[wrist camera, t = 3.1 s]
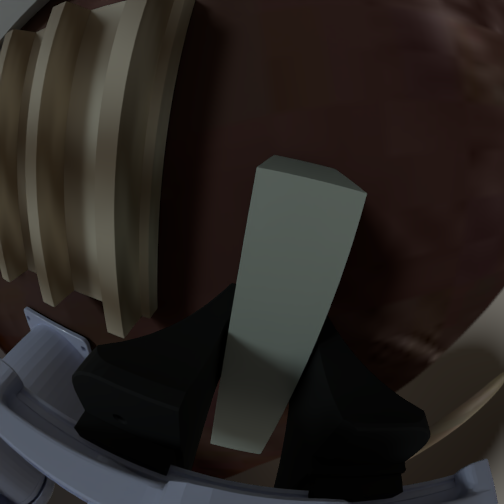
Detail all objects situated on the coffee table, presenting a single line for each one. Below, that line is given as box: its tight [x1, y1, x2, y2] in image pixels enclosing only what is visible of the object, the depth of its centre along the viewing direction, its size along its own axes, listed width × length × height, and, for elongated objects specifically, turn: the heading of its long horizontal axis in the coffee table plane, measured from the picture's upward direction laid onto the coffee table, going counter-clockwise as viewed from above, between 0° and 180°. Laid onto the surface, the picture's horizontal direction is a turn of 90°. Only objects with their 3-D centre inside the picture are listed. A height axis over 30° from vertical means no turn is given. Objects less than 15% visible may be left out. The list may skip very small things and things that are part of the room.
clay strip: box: [211, 155, 367, 454], centre depth 10 cm, size 12×2×5 cm, turn 170°
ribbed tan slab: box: [0, 0, 195, 338], centre depth 10 cm, size 16×17×3 cm
